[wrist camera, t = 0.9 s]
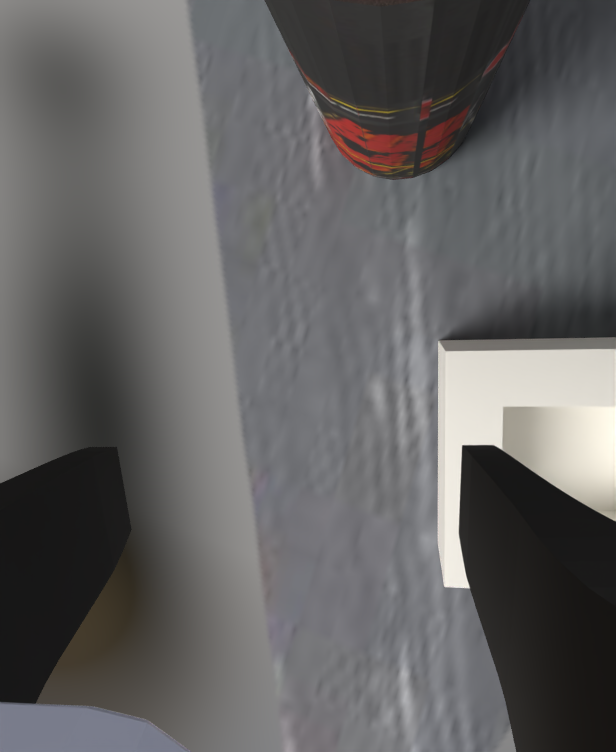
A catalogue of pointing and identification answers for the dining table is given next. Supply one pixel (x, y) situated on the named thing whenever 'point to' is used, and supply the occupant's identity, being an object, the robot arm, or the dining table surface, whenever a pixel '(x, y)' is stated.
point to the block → (526, 421)
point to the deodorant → (397, 72)
